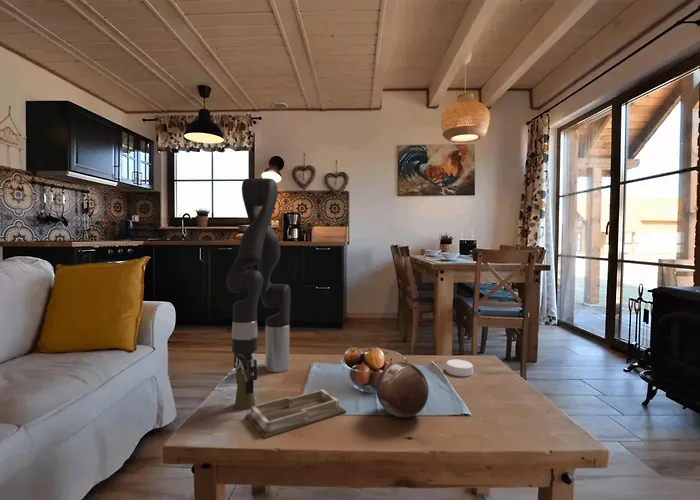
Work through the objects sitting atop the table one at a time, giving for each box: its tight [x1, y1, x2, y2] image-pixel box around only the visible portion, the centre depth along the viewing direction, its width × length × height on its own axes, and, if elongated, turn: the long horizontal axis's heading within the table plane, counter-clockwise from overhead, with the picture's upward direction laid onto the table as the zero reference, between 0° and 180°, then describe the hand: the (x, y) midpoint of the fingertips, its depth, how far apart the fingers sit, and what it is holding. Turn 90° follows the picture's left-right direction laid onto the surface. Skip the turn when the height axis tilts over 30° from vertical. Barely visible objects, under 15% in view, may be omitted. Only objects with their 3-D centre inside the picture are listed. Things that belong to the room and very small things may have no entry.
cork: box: [234, 369, 256, 411], centre depth 111 cm, size 6×6×11 cm
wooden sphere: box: [376, 361, 430, 418], centre depth 106 cm, size 15×15×15 cm
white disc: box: [445, 358, 474, 377], centre depth 140 cm, size 10×10×4 cm
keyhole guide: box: [246, 388, 347, 440], centre depth 105 cm, size 14×25×3 cm, turn 125°
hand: (244, 388), depth 110 cm, fingers open, 8 cm apart
